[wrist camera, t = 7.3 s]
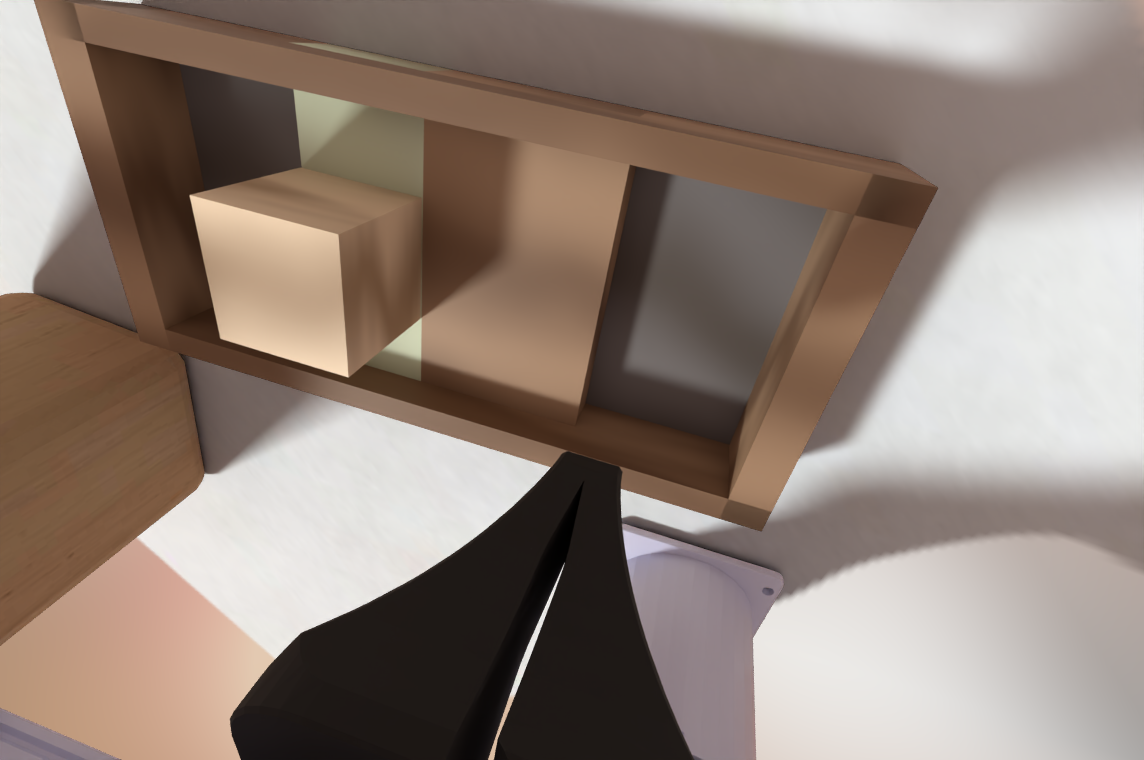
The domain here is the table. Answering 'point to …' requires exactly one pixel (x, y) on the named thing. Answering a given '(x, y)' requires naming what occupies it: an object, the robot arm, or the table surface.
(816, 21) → the table surface
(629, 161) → the box
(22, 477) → the wooden block
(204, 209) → the maple block
